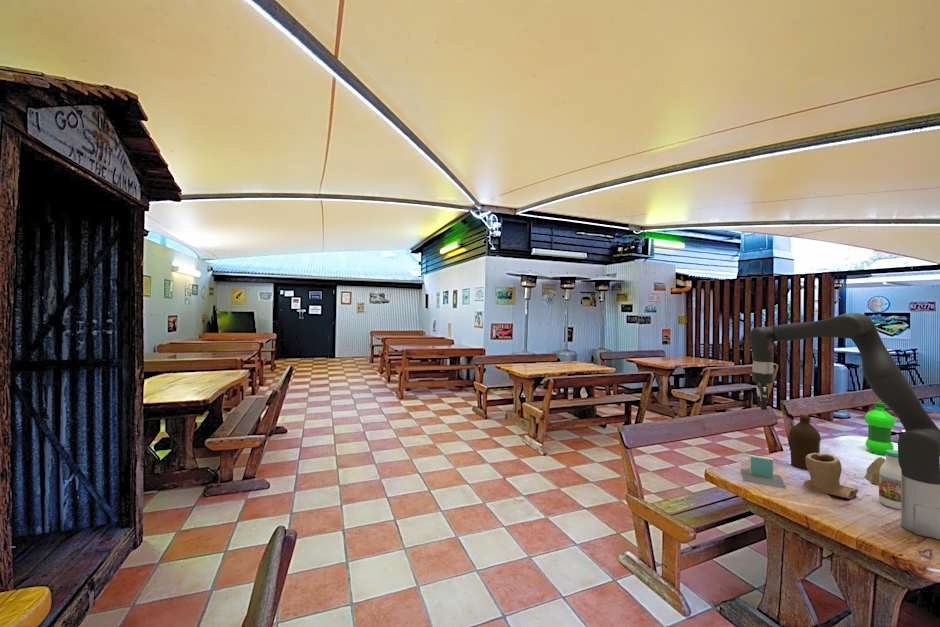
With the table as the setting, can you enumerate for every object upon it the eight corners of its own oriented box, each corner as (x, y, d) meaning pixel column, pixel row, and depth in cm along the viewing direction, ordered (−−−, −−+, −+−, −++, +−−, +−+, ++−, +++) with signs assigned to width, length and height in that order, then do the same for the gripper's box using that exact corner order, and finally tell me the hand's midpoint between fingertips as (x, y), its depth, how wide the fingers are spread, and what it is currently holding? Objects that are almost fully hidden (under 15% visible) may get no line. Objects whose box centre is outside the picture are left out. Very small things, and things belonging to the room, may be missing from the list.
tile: (773, 478, 161) (773, 459, 161) (750, 474, 165) (750, 456, 165) (772, 477, 162) (772, 458, 162) (749, 472, 167) (749, 454, 166)
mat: (786, 492, 152) (786, 489, 152) (743, 483, 159) (743, 481, 159) (780, 478, 164) (780, 475, 164) (740, 471, 171) (740, 468, 171)
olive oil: (794, 472, 170) (794, 416, 169) (785, 463, 180) (785, 410, 179) (825, 475, 166) (825, 418, 165) (814, 466, 175) (814, 412, 175)
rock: (887, 483, 153) (901, 476, 156) (869, 462, 158) (882, 455, 161) (860, 489, 162) (874, 482, 165) (844, 469, 166) (857, 463, 169)
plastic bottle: (858, 449, 195) (858, 400, 195) (877, 448, 196) (878, 400, 195) (880, 457, 185) (881, 406, 185) (900, 456, 186) (901, 405, 185)
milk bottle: (877, 497, 147) (877, 446, 146) (907, 504, 142) (907, 450, 141) (881, 506, 141) (881, 452, 140) (912, 513, 136) (913, 457, 135)
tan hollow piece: (800, 491, 153) (800, 453, 152) (806, 482, 160) (806, 446, 160) (853, 506, 141) (854, 465, 141) (858, 495, 148) (858, 457, 148)
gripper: (750, 368, 179) (750, 402, 179) (754, 373, 167) (753, 410, 167) (770, 369, 175) (770, 404, 176) (776, 374, 163) (775, 412, 163)
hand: (762, 407), depth 171 cm, fingers open, 8 cm apart
